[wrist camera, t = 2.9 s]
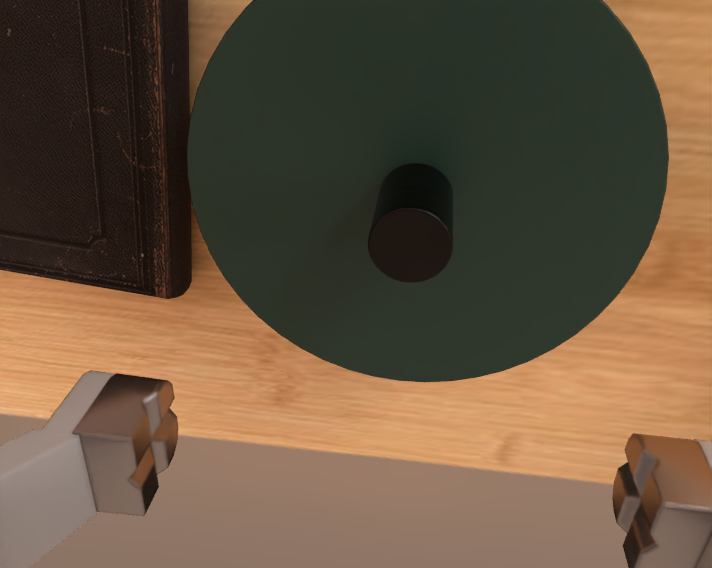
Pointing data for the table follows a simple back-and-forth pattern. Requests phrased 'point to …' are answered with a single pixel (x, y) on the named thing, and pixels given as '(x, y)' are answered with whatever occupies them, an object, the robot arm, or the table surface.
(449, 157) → the tin lid
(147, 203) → the hardcover book
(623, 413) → the table surface
